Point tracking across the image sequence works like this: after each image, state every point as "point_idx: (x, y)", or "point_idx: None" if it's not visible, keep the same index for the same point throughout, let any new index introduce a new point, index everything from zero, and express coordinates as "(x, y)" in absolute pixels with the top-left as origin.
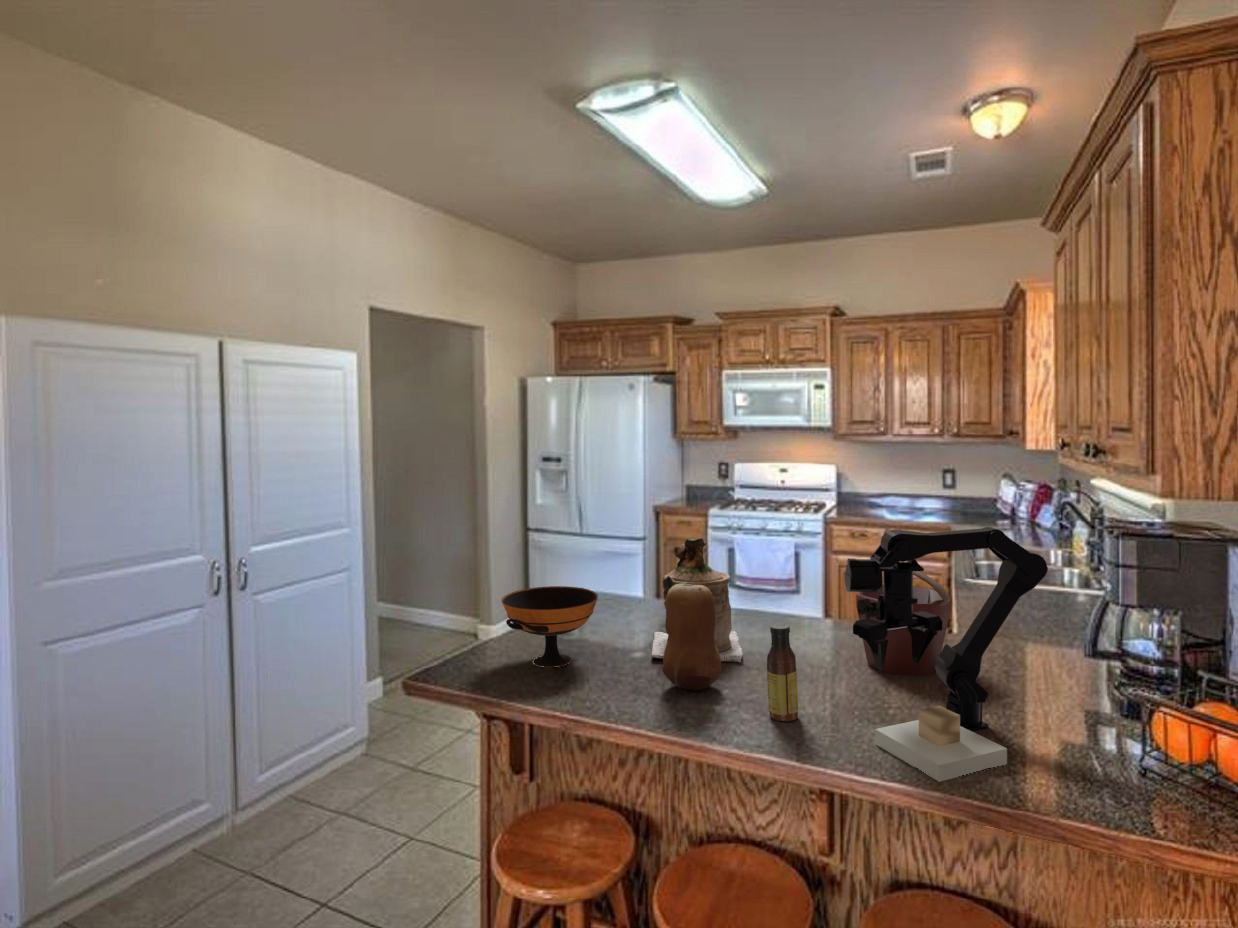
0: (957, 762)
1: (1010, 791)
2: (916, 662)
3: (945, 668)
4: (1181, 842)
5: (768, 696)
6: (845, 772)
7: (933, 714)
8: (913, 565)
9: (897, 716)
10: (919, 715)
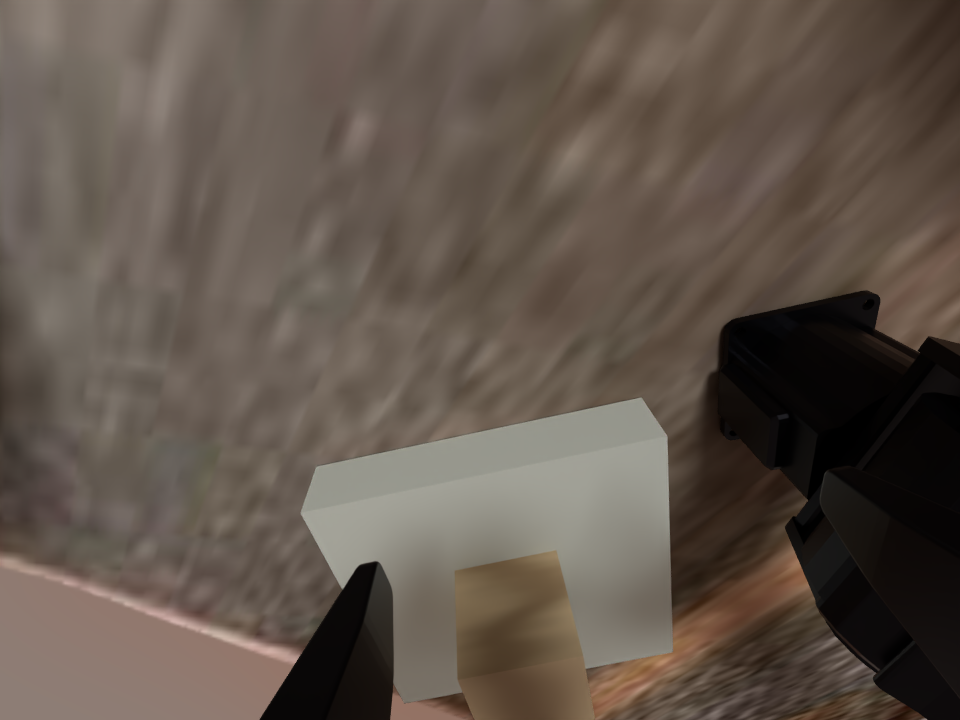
0: None
1: None
2: (828, 515)
3: (886, 669)
4: None
5: None
6: (147, 602)
7: (491, 712)
8: None
9: (563, 232)
10: (457, 655)
